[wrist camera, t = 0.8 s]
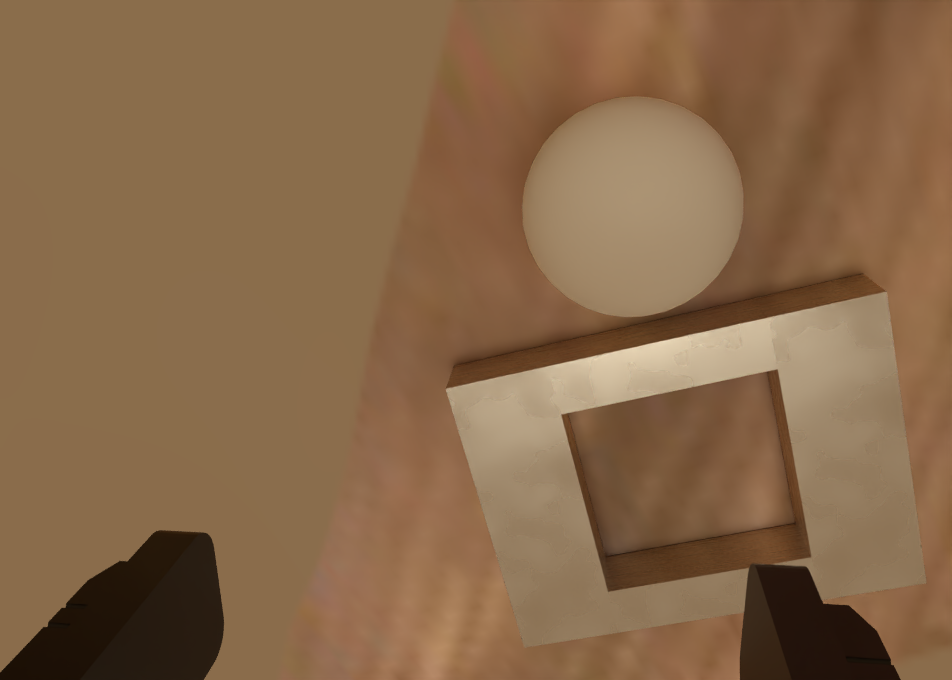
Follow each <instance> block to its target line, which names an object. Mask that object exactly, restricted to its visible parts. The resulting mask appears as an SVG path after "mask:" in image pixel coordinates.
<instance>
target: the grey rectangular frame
mask: <svg viewBox="0 0 952 680" xmlns="http://www.w3.org/2000/svg"><path fill="white" fill-rule="evenodd" d="M766 371H767V372H768V377H769V382H770V388H771V393H772V399H773V404H774V410H775V415H776V420H777V426H778V431H779V437H780V442H781V448H782V453H783V458H784V464H785V469H786V475H787V480H788V485H789V491H790V496H791V502H792V507H793V513H794V518H795V523H796V524H790V525H784V526H779V527H773V528H767V529H762V530H756V531H750V532H745V533H739V534H733V535H728V536H722V537H716V538H711V539H705V540H699V541H694V542H688V543H682V544H677V545H671V546H665V547H660V548H654V549H648V550H643V551H637V552H632V553H626V554H620V555H615V556H609V557H605V553H604V550H603V546H602V542H601V538H600V534H599V530H598V527H597V523H596V519H595V515H594V511H593V508H592V504H591V500H590V496H589V492H588V488H587V485H586V481H585V477H584V473H583V469H582V466H581V462H580V458H579V454H578V450H577V446H576V443H575V439H574V435H573V431H572V427H571V424H570V420H569V416H568V413H571V412H576V411H580V410H585V409H590V408H595V407H599V406H604V405H609V404H614V403H619V402H623V401H628V400H633V399H638V398H642V397H647V396H652V395H657V394H661V393H666V392H671V391H676V390H681V389H685V388H690V387H695V386H700V385H704V384H709V383H714V382H719V381H724V380H728V379H733V378H738V377H743V376H747V375H752V374H757V373H762V372H766ZM446 392H447V395H448V398H449V402H450V405H451V408H452V412H453V415H454V418H455V421H456V425H457V428H458V431H459V435H460V438H461V441H462V444H463V448H464V451H465V454H466V457H467V461H468V464H469V467H470V471H471V474H472V477H473V480H474V484H475V487H476V490H477V494H478V497H479V500H480V503H481V507H482V510H483V513H484V517H485V520H486V523H487V526H488V530H489V533H490V536H491V539H492V543H493V546H494V549H495V553H496V556H497V559H498V562H499V566H500V569H501V572H502V576H503V579H504V582H505V585H506V589H507V592H508V595H509V598H510V602H511V605H512V608H513V612H514V615H515V618H516V621H517V625H518V628H519V631H520V635H521V638H522V641H523V644H524V648H525V647H531V646H538V645H544V644H550V643H556V642H563V641H569V640H575V639H581V638H588V637H594V636H600V635H606V634H613V633H619V632H625V631H631V630H638V629H644V628H650V627H656V626H663V625H669V624H675V623H681V622H688V621H694V620H700V619H706V618H713V617H719V616H725V615H731V614H738V613H744V608H745V598H746V587H747V577H748V571H749V567H750V565H751V564H752V563H756V564H774V565H793V566H806V567H807V568H808V569H809V571H810V573H811V576H812V578H813V580H814V583H815V585H816V588H817V590H818V592H819V595H820V597H821V600H825V599H831V598H838V597H844V596H850V595H856V594H863V593H869V592H875V591H881V590H888V589H894V588H900V587H906V586H913V585H919V584H925V583H926V576H925V569H924V561H923V554H922V547H921V539H920V532H919V525H918V517H917V510H916V503H915V495H914V488H913V481H912V473H911V466H910V459H909V451H908V444H907V437H906V429H905V422H904V415H903V407H902V400H901V393H900V385H899V378H898V371H897V363H896V356H895V349H894V341H893V334H892V327H891V319H890V312H889V305H888V297H887V291H885V290H884V289H883V288H881V287H880V286H879V285H877V284H876V283H875V282H873V281H872V280H871V279H870V278H868V277H867V276H866V275H864V274H859V275H855V276H850V277H846V278H841V279H837V280H833V281H828V282H824V283H819V284H815V285H810V286H806V287H802V288H797V289H793V290H788V291H784V292H779V293H775V294H771V295H766V296H762V297H757V298H753V299H748V300H744V301H740V302H735V303H731V304H726V305H722V306H717V307H713V308H708V309H704V310H700V311H695V312H691V313H686V314H682V315H677V316H673V317H669V318H664V319H660V320H655V321H651V322H646V323H642V324H638V325H633V326H629V327H624V328H620V329H615V330H611V331H606V332H602V333H598V334H593V335H589V336H584V337H580V338H575V339H571V340H567V341H562V342H558V343H553V344H549V345H544V346H540V347H536V348H531V349H527V350H522V351H518V352H513V353H509V354H505V355H500V356H496V357H491V358H487V359H482V360H478V361H473V362H469V363H465V364H460V365H456V366H454V367H453V370H452V373H451V376H450V378H449V381H448V384H447V386H446Z"/></svg>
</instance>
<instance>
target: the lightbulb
mask: <svg viewBox="0 0 952 680" xmlns="http://www.w3.org/2000/svg"><path fill="white" fill-rule="evenodd" d="M743 201H744V192H743V187H742V181H741V176H740V171H739V169H738V166H737V164H736V162H735V159H734V157H733V154H732V152H731V150H730V149H729V147H728V146H727V145H726V143H725V142H724V140H723V139H722V137H721V136H720V134H719V133H718V132H717V131H716V130H715V129H713V128H712V127H711V126H710V125H709V124H708V123H707V122H706V121H705V120H704V119H703V118H701V117H699V116H698V115H696V114H694V113H693V112H691V111H689V110H688V109H686V108H685V107H683V106H680V105H677V104H674V103H672V102H669V101H666V100H663V99H659V98H651V97H643V96H631V97H618V98H613V99H610V100H606V101H602V102H599V103H595V104H593V105H591V106H589V107H587V108H585V109H583V110H581V111H579V112H577V113H575V114H574V115H573V116H571V117H570V118H569V119H568V120H566V121H565V122H564V123H562V124H561V125H560V126H559V127H557V129H556V130H555V131H554V132H553V133H552V134H551V135H550V137H549V138H548V139H547V140H546V141H545V142H544V144H543V145H542V147H541V149H540V150H539V152H538V154H537V156H536V157H535V159H534V161H533V162H532V165H531V168H530V171H529V174H528V177H527V180H526V183H525V186H524V194H523V201H522V219H523V229H524V233H525V237H526V241H527V244H528V248H529V250H530V252H531V254H532V256H533V258H534V260H535V262H536V264H537V266H538V267H539V269H540V270H541V271H542V272H543V274H544V275H545V276H546V278H547V279H548V280H549V282H550V283H551V284H552V285H553V286H555V287H556V288H557V289H558V290H559V291H560V292H561V293H563V294H564V295H565V296H566V297H567V298H569V299H571V300H572V301H574V302H576V303H577V304H579V305H581V306H583V307H584V308H587V309H590V310H593V311H596V312H599V313H602V314H605V315H612V316H619V317H641V316H649V315H653V314H657V313H661V312H666V311H668V310H670V309H672V308H675V307H677V306H679V305H682V304H684V303H686V302H687V301H689V300H690V299H692V298H693V297H695V296H696V295H698V294H699V293H701V292H702V291H703V290H704V289H705V288H706V287H707V286H708V285H709V284H710V283H711V282H712V281H713V280H714V279H715V278H716V277H717V276H718V275H719V273H720V272H721V271H722V269H723V268H724V266H725V265H726V263H727V262H728V261H729V259H730V257H731V255H732V252H733V250H734V248H735V246H736V243H737V241H738V239H739V234H740V230H741V225H742V221H743Z"/></svg>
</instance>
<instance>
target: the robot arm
mask: <svg viewBox="0 0 952 680" xmlns="http://www.w3.org/2000/svg"><path fill="white" fill-rule="evenodd" d="M223 631H224V617H223V609H222V602H221V595H220V588H219V580H218V573H217V566H216V559H215V552H214V546H213V542H212V539H211V537H210V536H209V535H208V534H207V533H201V532H182V531H162V530H160V531H156V532H155V533H153V534H152V535H151V536H150V537H149V538H148V540H147V541H146V542H145V543H144V544H143V545H142V546H141V547H140V548H139V549H138V551H137V552H136V553H135V554H134V555H133V556H132V557H131V558H130V559H129V561H128V562H126V561H119V562H118V563H116V564H114V565H113V566H111V567H109V568H108V569H106V570H104V571H103V572H101V573H99V574H98V575H96V576H94V577H93V578H91V579H89V580H88V581H87V582H86V583H85V584H84V585H83V586H82V587H81V588H80V589H79V590H78V591H77V593H76V594H75V595H74V596H73V597H72V598H71V599H70V600H69V601H68V602H67V603H66V608H61V609H60V611H58V612H57V614H56V615H55V616H54V617H53V618H52V619H51V620H50V621H49V622H48V627H43V628H42V629H41V630H40V631H39V632H38V634H37V635H36V636H35V637H34V638H33V639H32V640H31V641H30V642H29V643H28V644H27V645H26V646H25V647H24V648H23V649H22V650H21V651H20V653H19V654H18V655H17V656H16V657H15V658H14V659H13V660H12V661H11V662H10V663H9V664H8V665H7V666H6V667H5V668H4V669H3V670H2V672H0V680H204V678H205V677H206V675H207V673H208V672H209V670H210V669H211V667H212V665H213V664H214V662H215V660H216V658H217V656H218V653H219V650H220V647H221V643H222V638H223ZM740 680H901V679H900V678H899V675H898V673H897V671H896V669H895V667H894V665H891V659H890V657H889V655H888V653H887V651H886V649H885V647H884V645H883V643H882V641H881V639H880V637H879V635H878V633H877V631H876V630H875V629H874V628H873V627H872V626H871V625H870V624H869V623H867V622H866V621H865V620H864V619H863V618H862V617H861V616H860V615H859V614H858V613H856V612H855V611H854V610H853V609H852V608H851V607H850V606H849V605H833V604H823V602H822V600H821V597H820V595H819V592H818V590H817V588H816V585H815V583H814V580H813V578H812V576H811V573H810V571H809V569H808V568H807V567H806V566H793V565H774V564H756V563H752V564H751V565H750V567H749V571H748V577H747V587H746V598H745V608H744V619H743V629H742V640H741V650H740Z"/></svg>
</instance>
